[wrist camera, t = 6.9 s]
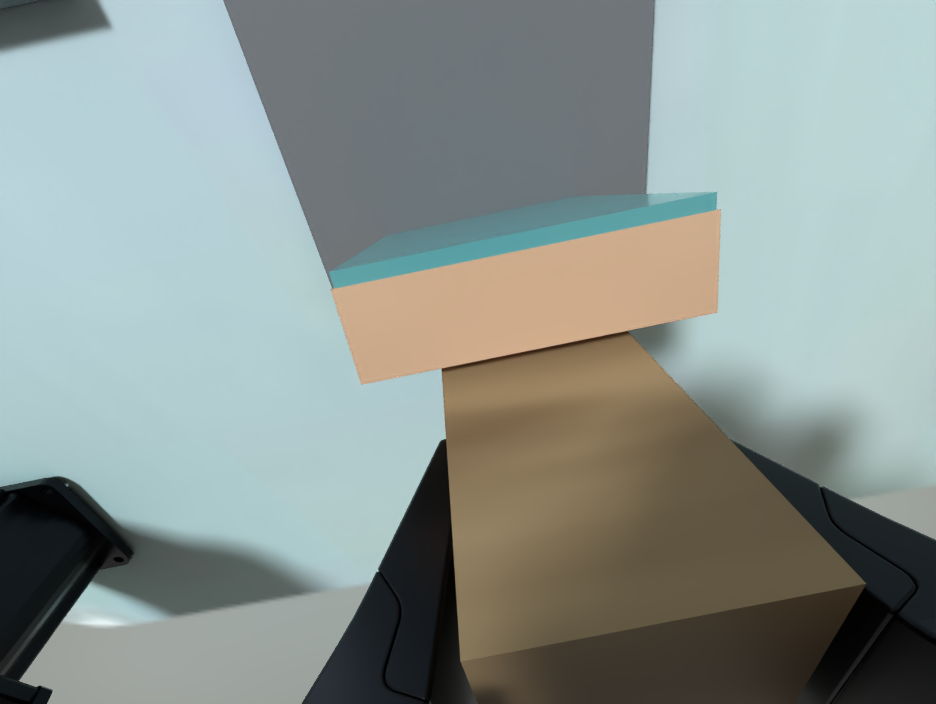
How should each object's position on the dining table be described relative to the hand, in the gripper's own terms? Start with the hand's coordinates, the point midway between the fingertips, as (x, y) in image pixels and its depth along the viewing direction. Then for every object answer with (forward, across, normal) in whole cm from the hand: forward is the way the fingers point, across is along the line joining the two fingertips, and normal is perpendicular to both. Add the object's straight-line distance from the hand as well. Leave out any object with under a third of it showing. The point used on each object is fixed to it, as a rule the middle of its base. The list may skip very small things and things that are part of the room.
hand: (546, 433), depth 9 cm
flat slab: (+8, 0, -2) cm, 8 cm away
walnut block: (+2, 0, 0) cm, 2 cm away
